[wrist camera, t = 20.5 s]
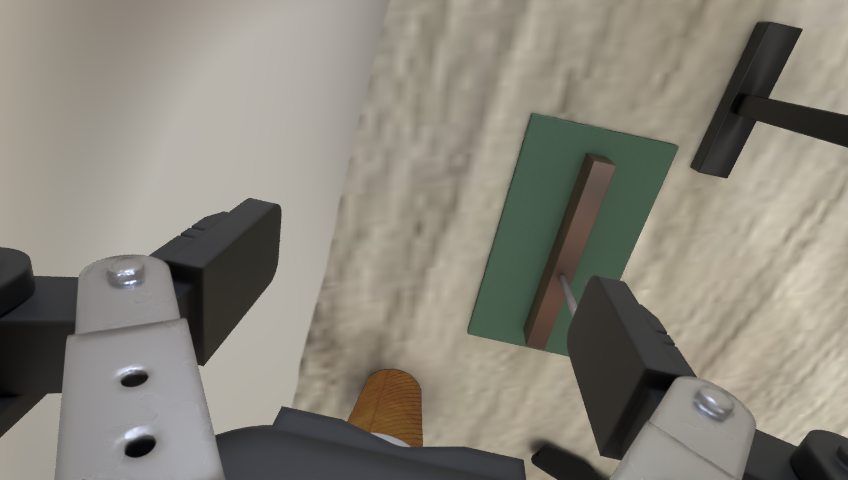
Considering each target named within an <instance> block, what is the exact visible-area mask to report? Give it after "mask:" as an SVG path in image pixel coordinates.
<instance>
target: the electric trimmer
mask: <svg viewBox="0 0 848 480" xmlns="http://www.w3.org/2000/svg"><path fill="white" fill-rule="evenodd" d="M531 460H532V463H533V464H534V465H535V466H537V467H538V468H540V469H542V470H543V471H545V472H546V473H548V474H549V475H551V476H552V477H554V478H556V479H557V480H604V479H602V478H601V477H599V476H597V475H596V473H595V472H594V470H593V469H592V467H591V466H590V465H588V464H586V463H584V462H582V461H580V460H578V459H576V458H573V457H571V456H569V455H567V454H564V453H562V452H560V451H557V450H555V449H553V448H550V447H548V446H544V447H543V448H541V449H540V450H539V451H538V452H537V453H535V454H534V455H533V456H532V458H531Z"/></svg>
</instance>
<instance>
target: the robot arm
mask: <svg viewBox="0 0 848 480" xmlns="http://www.w3.org/2000/svg"><path fill="white" fill-rule="evenodd" d="M280 229H281V207H280V205H279V204H275V203H270V202H265V201H261V200H257V199H252V198H248V199H246V200H245V201H244V202H242V203H241V204H240V205H238V206H237V207H235V208H234V209H233V210H231V211H230V212H229V213H228V212H221V213H218V214H214V215H211V216H207V217H204V218H203V219H202V220H200V221H199V222H197V223H196V224H194V225H193V226H192V228H188V229H187V230H185V231H184V232H183V233H181V236H177V237H175V238H174V239H173V240H171V241H169V242H168V243H167V244H165V245H164V246H162V247H161V248H159V249H158V250H156V251H155V252H153V253H152V254H151V255H149V256H145V255H120V256H113V257H109V258H105V259H101V260H99V261H96V262H94V263H92V264H90V265H88V266H87V267H85V268H84V269H83V270H82V271H81V273H80V275H79V277H49V276H33V270H32V265H31V260H30V257H29V256H28V255H27V254H25V253H24V252H22V251H19V250H15V249H10V248H2V247H0V437H1V436H3V435H4V434H5V433H6V432H7V431H8V430H9V429H10V428H11V427H12V426H13V425H14V424H15V423H17V422H18V421H19V420H20V419H21V418H22V417H23V416H24V415H25V414H26V413H27V412H28V411H29V410H31V409H32V408H33V407H34V406H35V405H36V404H37V403H38V402H39V401H40V400H41V399H42V398H43V397H44V396H45V395H46V394H48V393H62V398H61V411H60V422H59V434H58V445H57V457H56V469H55V480H526V475H525V467H524V460H522V459H517V458H513V457H508V456H504V455H499V454H495V453H490V452H486V451H481V450H477V449H472V448H468V447H403V446H398V445H396V444H393V443H391V442H389V441H387V440H385V439H382V438H380V437H378V436H376V435H374V434H372V433H370V432H367V431H365V430H363V429H361V428H359V427H357V426H354V425H352V424H350V423H348V422H346V421H344V420H342V419H337V418H333V417H328V416H324V415H319V414H315V413H310V412H306V411H301V410H297V409H292V408H288V407H281V409H280V411H279V413H278V415H277V417H276V419H275V421H274V423H273V425H261V426H251V427H245V428H240V429H235V430H231V431H228V432H224V433H221V434H218V435H214V431H213V427H212V422H211V418H210V414H209V410H208V406H207V402H206V398H205V393H204V389H203V385H202V381H201V376H200V373H199V368H198V365H201V366H204V365H205V364H206V362H207V361H208V360H209V359H210V357H211V356H212V355H213V354H214V353H215V351H216V350H217V349H218V348H219V346H220V345H221V344H222V343H223V341H224V340H225V339H226V338H227V336H228V335H229V334H230V333H231V331H232V330H233V329H234V328H235V326H236V325H237V324H238V323H239V321H240V320H241V319H242V318H243V316H244V315H245V314H246V313H247V311H248V310H249V309H250V308H251V307H252V305H253V304H254V303H255V302H256V300H257V299H258V298H259V297H260V295H261V294H262V293H263V292H264V290H265V289H266V288H267V287H268V285H269V284H270V283H271V281H272V280H273V277H274V275H275V272H276V268H277V265H278V258H279V243H280ZM567 350H568V353H569V356H570V360H571V363H572V366H573V369H574V373H575V376H576V379H577V382H578V385H579V389H580V392H581V395H582V398H583V402H584V405H585V408H586V411H587V414H588V418H589V421H590V424H591V427H592V431H593V434H594V437H595V440H596V443H597V447H598V450H599V453H600V456H604V457H608V458H613V459H617V460H621V462H620V463H619V465H618V467H617V468H616V470H615V471H614V473H613V474H612V476H611V478H610V479H609V480H848V438H845V437H843V436H841V435H838V434H836V433H832V432H829V431H824V430H812V431H810V432H809V433H808V434H807V436H806V437H805V438H804V439H803V441H802V442H801V443H800V445H799V446H798V447H797V446H794V445H792V444H790V443H787V442H785V441H783V440H780V439H778V438H776V437H773V436H771V435H769V434H766V433H764V432H762V431H759V430H757V429H756V422H755V419H754V417H753V415H752V414H751V412H750V411H749V410H748V409H747V407H746V406H745V405H744V404H743V403H742V402H741V401H739V400H738V399H737V398H736V397H735V396H733V395H732V394H730V393H729V392H727V391H726V390H724V389H723V388H721V387H719V386H717V385H715V384H713V383H711V382H708V381H706V380H703V379H700V378H697V377H696V375H695V374H694V372H693V371H692V369H691V368H690V366H689V365H688V363H687V361H686V360H685V358H684V357H683V355H682V354H681V352H680V351H679V349H678V348H677V347H675V343H674V342H673V340H672V339H671V337H670V336H669V335H667V331H666V330H665V328H664V327H663V325H662V324H661V322H660V321H659V319H658V318H657V317H655V316H654V315H653V314H652V313H651V312H650V311H648V310H647V309H646V308H645V307H644V306H643V305H640V304H639V303H638V301H637V300H636V298H635V297H634V295H633V294H632V292H631V290H630V289H629V287H628V286H627V284H626V283H625V282H623V281H619V280H614V279H610V278H605V277H601V276H596V275H593V276H592V277H591V278H590V279H589V280H588V282H587V284H586V287H585V289H584V292H583V294H582V296H581V299H580V301H579V304H578V306H577V309H576V311H575V313H574V316H573V318H572V321H571V323H570V326H569V329H568V334H567Z"/></svg>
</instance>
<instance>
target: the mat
mask: <svg viewBox="0 0 848 480" xmlns="http://www.w3.org/2000/svg"><path fill="white" fill-rule="evenodd" d="M678 148H679V146H677V145H674V144H670V143H665V142H661V141H656V140H652V139H647V138H643V137H638V136H634V135H629V134H625V133H620V132H616V131H611V130H607V129H602V128H598V127H593V126H589V125H584V124H579V123H575V122H570V121H566V120H561V119H557V118H552V117H548V116H543V115H539V114H534V113H532V114H531V117H530V121H529V124H528V127H527V131H526V134H525V138H524V141H523V144H522V148H521V151H520V155H519V158H518V161H517V165H516V168H515V172H514V175H513V178H512V182H511V185H510V188H509V192H508V195H507V199H506V202H505V205H504V209H503V212H502V216H501V219H500V222H499V226H498V229H497V233H496V236H495V239H494V243H493V246H492V249H491V253H490V256H489V260H488V263H487V266H486V270H485V273H484V277H483V280H482V283H481V287H480V290H479V294H478V297H477V300H476V304H475V307H474V311H473V314H472V317H471V321H470V324H469V327H468V334H470V335H475V336H479V337H484V338H488V339H493V340H497V341H502V342H506V343H511V344H515V345H520V346H524V347H529V346H526V343H525V337H524V332H523V328H524V325H525V323H526V320H527V317H528V314H529V311H530V309H531V306H532V303H533V300H534V298H535V295H536V292H537V289H538V286H539V284H540V281H541V278H542V275H543V272H544V270H545V267H546V264H547V261H548V259H549V256H550V253H551V250H552V247H553V245H554V242H555V239H556V236H557V233H558V231H559V228H560V225H561V222H562V220H563V217H564V214H565V211H566V208H567V206H568V203H569V200H570V197H571V194H572V192H573V189H574V186H575V183H576V181H577V178H578V175H579V172H580V169H581V167H582V164H583V161H584V158H585V155H586V153H590V154H594V155H599V156H603V157H608V158H609V159H610V160H611V161H612V162H613V163H614V164H615V165H617V167H616V169H615V172H614V174H613V177H612V179H611V182H610V185H609V187H608V190H607V192H606V195H605V197H604V200H603V202H602V205H601V207H600V210H599V213H598V215H597V218H596V220H595V223H594V225H593V228H592V230H591V233H590V235H589V238H588V240H587V243H586V246H585V248H584V251H583V253H582V256H581V258H580V261H579V263H578V266H577V268H576V271H575V274H574V276H573V279H572V281H571V284H570V286H569V287H570V289H571V292H572V294H573V297H574V299H575V302H576V304H577V306H578V304H579V301H580V299H581V296H582V294H583V292H584V289H585V287H584V282H585V281H588V280H589V279H590V278H591V277H592V276H593V275H596V276H601V277H605V278H610V279H614V280H620V278H621V276H622V274H623V271H624V269H625V267H626V265H627V262H628V260H629V258H630V256H631V253H632V251H633V249H634V247H635V244H636V242H637V240H638V238H639V235H640V233H641V231H642V229H643V226H644V224H645V222H646V220H647V217H648V215H649V213H650V211H651V208H652V206H653V204H654V202H655V199H656V197H657V195H658V193H659V190H660V188H661V186H662V184H663V181H664V179H665V177H666V175H667V172H668V170H669V168H670V166H671V163H672V161H673V159H674V157H675V154H676V152H677V150H678ZM572 318H573V317H572V314H571V311H570V309H569V306H568V303H567V300H566V298H565V299H564V302H563V304H562V307H561V309H560V312H559V314H558V317H557V319H556V322H555V324H554V327H553V330H552V332H551V335H550V337H549V340H548V342H547V345H546V347H545V350H543V349H538V348H534V347H529V348H533V349H538V350H542V351H547V352H551V353H556V354H560V355H565V356H569V353H568V350H567V334H568V329H569V326H570V323H571V321H572ZM569 357H570V356H569Z"/></svg>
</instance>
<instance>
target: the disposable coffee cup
mask: <svg viewBox="0 0 848 480" xmlns="http://www.w3.org/2000/svg"><path fill="white" fill-rule="evenodd" d="M421 407H422V405H421V389H420V386H419V384H418V383H417V381H416V380H415V379H414V378H413V377H412V376H410V375H409V374H407V373H404V372H402V371H399V370H393V369H389V370H381V371H378V372H376V373H374V374H373V375H371V376H370V377H369V379H368V380H367V382H366V384H365V386H364V388H363V390H362V392H361V394H360V397H359V399H358V401H357V403H356V405H355V407H354V409H353V411H352V413H351V415H350V417H349V419H348V421H347V422H348V423H350V424H352V425H354V426H357V427H359V428H361V429H363V430H365V431H367V432H370V433H372V434H374V435H376V436H378V437H380V438H382V439H385V440H387V441H389V442H391V443H393V444H396V445H398V446H403V447H423V437H422V435H423V433H422V408H421Z"/></svg>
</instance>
